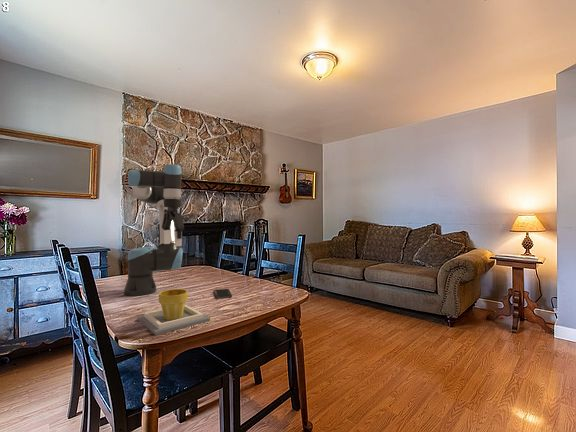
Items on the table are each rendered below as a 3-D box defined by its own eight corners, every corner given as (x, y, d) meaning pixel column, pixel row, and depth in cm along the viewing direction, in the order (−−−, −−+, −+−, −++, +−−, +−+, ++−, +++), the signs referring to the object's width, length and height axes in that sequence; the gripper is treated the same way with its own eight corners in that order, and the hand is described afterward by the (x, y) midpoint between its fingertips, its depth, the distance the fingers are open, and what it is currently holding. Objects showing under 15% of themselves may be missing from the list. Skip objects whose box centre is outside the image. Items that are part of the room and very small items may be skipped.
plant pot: (163, 324, 106) (164, 297, 106) (154, 316, 113) (155, 291, 113) (191, 317, 112) (191, 292, 112) (181, 311, 120) (181, 287, 120)
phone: (216, 297, 141) (213, 289, 156) (216, 299, 141) (213, 291, 156) (232, 296, 144) (228, 288, 158) (232, 298, 144) (228, 290, 158)
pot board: (137, 319, 113) (137, 312, 113) (187, 308, 127) (187, 302, 127) (155, 335, 99) (155, 327, 99) (209, 320, 112) (209, 314, 112)
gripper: (192, 197, 128) (192, 246, 128) (170, 199, 146) (170, 242, 146) (175, 197, 122) (175, 247, 123) (154, 199, 141) (154, 243, 141)
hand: (172, 245), depth 134 cm, fingers open, 13 cm apart
